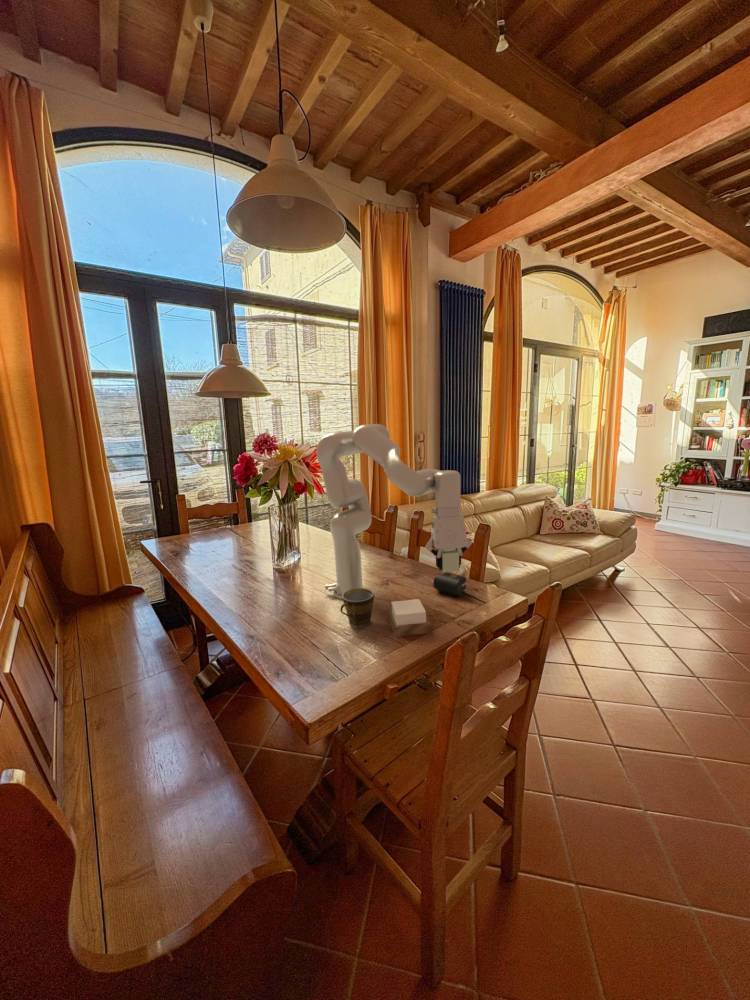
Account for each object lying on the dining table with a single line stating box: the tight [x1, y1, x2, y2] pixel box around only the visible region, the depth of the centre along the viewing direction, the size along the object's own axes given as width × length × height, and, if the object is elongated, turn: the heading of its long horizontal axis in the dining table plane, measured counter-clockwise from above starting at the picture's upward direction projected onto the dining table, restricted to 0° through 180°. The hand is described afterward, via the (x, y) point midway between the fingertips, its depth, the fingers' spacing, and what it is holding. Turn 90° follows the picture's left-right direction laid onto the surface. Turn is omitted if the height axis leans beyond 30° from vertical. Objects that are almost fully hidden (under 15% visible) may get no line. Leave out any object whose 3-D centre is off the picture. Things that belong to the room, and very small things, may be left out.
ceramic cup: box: [340, 588, 375, 630], centre depth 127 cm, size 13×10×10 cm
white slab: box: [390, 598, 427, 626], centre depth 125 cm, size 9×9×4 cm
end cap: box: [432, 572, 467, 598], centre depth 148 cm, size 10×7×7 cm
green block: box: [441, 549, 460, 574], centre depth 126 cm, size 5×5×6 cm
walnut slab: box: [388, 610, 432, 638], centre depth 126 cm, size 11×11×4 cm
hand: (448, 567), depth 127 cm, fingers closed on green block, 5 cm apart
